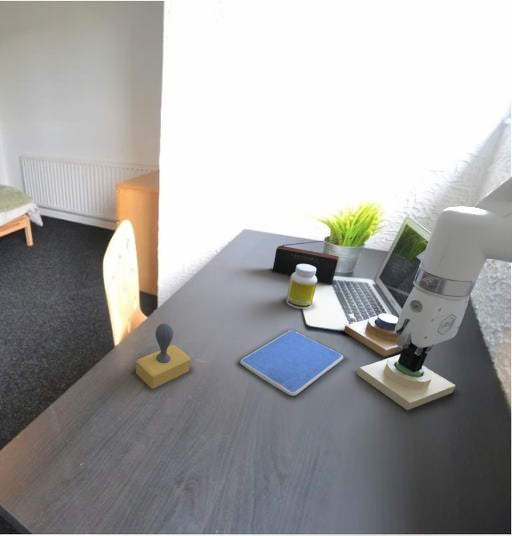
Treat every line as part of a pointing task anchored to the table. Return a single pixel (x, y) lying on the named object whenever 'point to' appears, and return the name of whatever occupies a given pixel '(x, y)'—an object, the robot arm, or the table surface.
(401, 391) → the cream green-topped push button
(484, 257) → the robot arm
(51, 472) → the table surface
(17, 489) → the table surface
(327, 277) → the radio
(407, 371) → the green button
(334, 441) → the table surface
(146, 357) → the rubber stamp
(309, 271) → the pill bottle
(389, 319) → the blue button
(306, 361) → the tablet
